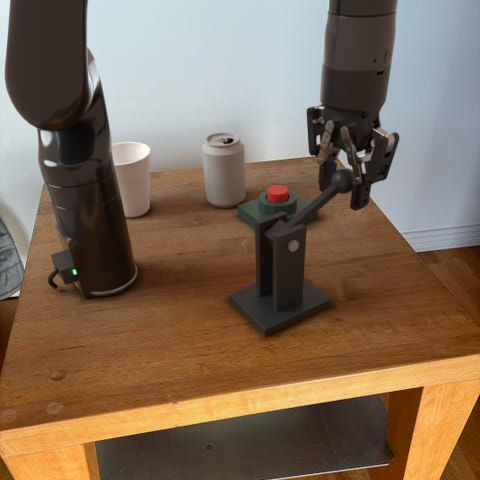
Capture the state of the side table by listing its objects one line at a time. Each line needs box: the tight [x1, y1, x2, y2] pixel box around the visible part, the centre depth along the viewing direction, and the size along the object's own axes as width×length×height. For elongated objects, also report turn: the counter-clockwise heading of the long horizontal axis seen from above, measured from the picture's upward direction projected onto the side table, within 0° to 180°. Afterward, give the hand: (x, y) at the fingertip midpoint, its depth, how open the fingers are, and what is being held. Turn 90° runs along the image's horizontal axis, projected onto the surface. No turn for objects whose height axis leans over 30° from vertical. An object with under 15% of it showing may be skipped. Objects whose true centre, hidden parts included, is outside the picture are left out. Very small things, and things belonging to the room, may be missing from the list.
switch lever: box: [264, 167, 355, 247], centre depth 64 cm, size 14×3×3 cm, turn 122°
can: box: [201, 131, 247, 209], centre depth 91 cm, size 8×8×12 cm
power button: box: [267, 184, 289, 203], centre depth 86 cm, size 4×4×2 cm
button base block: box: [237, 188, 319, 230], centre depth 88 cm, size 11×9×4 cm
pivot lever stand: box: [228, 211, 331, 337], centre depth 66 cm, size 11×9×13 cm
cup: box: [112, 141, 152, 218], centre depth 89 cm, size 10×10×11 cm
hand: (342, 198), depth 66 cm, fingers open, 5 cm apart
